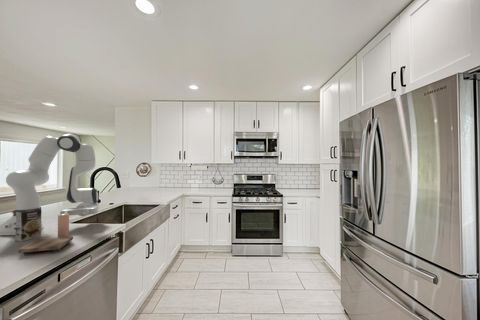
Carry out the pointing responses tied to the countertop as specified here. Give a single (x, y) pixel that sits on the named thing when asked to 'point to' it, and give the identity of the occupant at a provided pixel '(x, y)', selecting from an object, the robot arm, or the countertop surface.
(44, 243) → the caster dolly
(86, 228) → the countertop surface
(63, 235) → the terracotta canister
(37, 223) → the coffee box
